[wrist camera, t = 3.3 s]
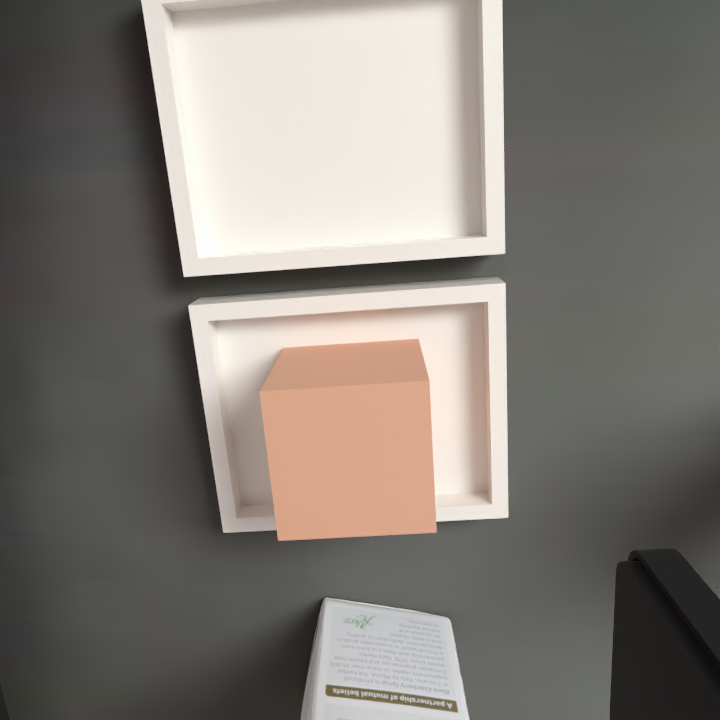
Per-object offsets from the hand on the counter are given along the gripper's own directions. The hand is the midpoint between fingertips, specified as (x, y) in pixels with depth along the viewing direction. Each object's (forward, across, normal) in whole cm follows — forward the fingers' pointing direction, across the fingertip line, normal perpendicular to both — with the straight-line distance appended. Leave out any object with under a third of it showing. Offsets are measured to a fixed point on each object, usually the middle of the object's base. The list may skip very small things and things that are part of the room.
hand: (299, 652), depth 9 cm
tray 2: (+15, 0, +1) cm, 15 cm away
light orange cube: (+15, 0, +1) cm, 15 cm away
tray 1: (+15, 0, -9) cm, 17 cm away
